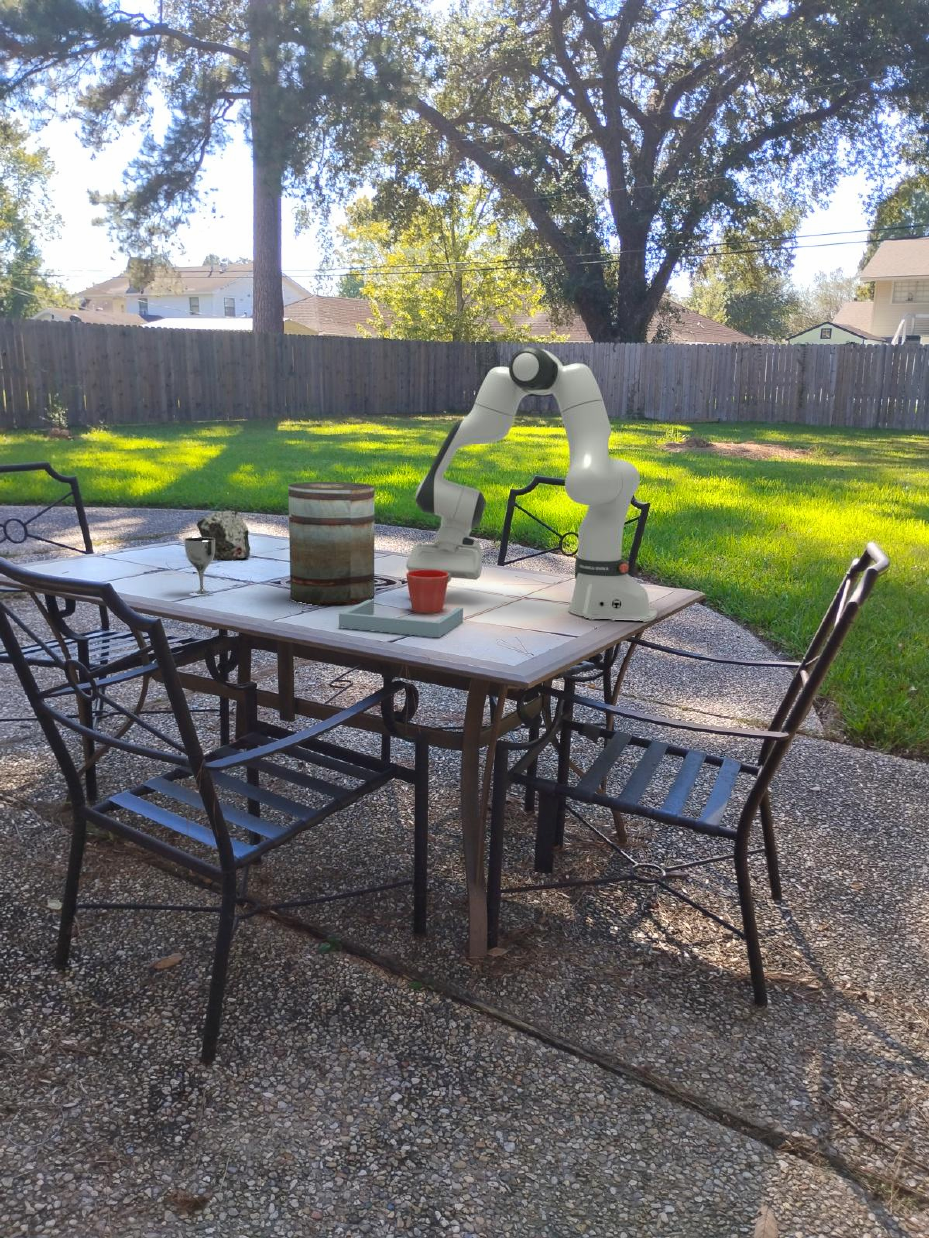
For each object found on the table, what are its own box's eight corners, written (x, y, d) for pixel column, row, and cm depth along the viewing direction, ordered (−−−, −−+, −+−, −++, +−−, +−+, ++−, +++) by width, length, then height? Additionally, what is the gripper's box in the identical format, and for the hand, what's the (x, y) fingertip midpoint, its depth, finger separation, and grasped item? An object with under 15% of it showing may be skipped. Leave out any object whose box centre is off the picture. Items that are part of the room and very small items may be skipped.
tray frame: (462, 622, 244) (463, 608, 243) (439, 638, 228) (439, 623, 227) (368, 613, 252) (368, 599, 251) (338, 628, 235) (338, 613, 234)
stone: (189, 568, 323) (188, 528, 315) (201, 539, 338) (201, 500, 330) (247, 575, 325) (248, 535, 316) (256, 546, 340) (257, 508, 331)
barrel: (352, 586, 285) (351, 480, 278) (389, 601, 266) (389, 488, 259) (277, 593, 273) (275, 483, 266) (310, 609, 254) (308, 491, 248)
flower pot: (423, 617, 249) (424, 578, 247) (397, 609, 257) (398, 571, 255) (456, 611, 255) (457, 574, 253) (430, 604, 264) (431, 567, 261)
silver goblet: (203, 589, 276) (201, 535, 272) (223, 593, 271) (221, 538, 268) (180, 594, 269) (178, 539, 266) (200, 598, 265) (197, 542, 261)
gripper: (411, 536, 270) (397, 578, 263) (483, 541, 264) (471, 584, 257) (416, 550, 275) (403, 591, 268) (488, 555, 269) (476, 598, 262)
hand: (437, 588), depth 262 cm, fingers closed
